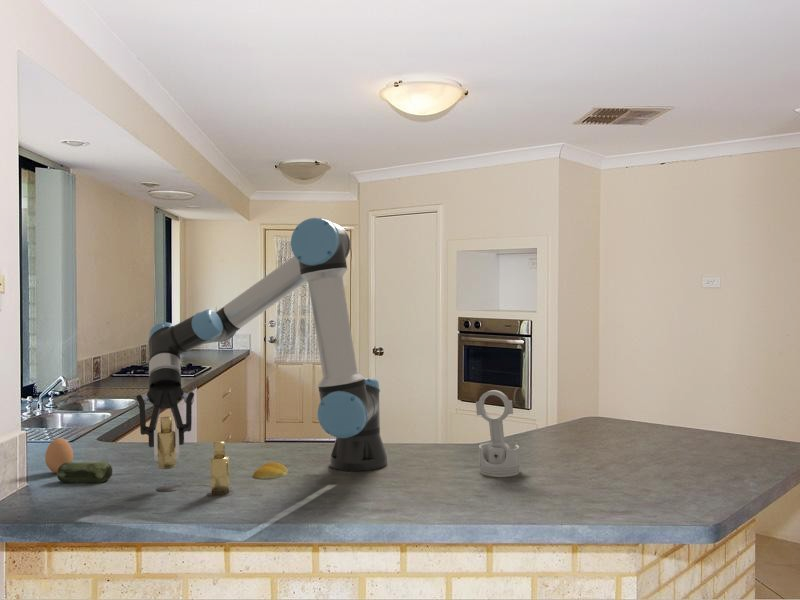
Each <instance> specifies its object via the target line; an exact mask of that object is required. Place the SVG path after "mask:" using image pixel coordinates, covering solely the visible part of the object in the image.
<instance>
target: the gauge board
mask: <svg viewBox="0 0 800 600" xmlns="http://www.w3.org/2000/svg"><path fill="white" fill-rule="evenodd" d="M181 484H182V485H181ZM181 484H167V485H162V486H159V487H157V488H155V491H156V492H158V493H172V492H177V491H180V490H182V489H184V486H183V485H193V486H199V487H200V486H203V487H210V488H211V485H206V484H194V483H185V482H182V483H181ZM229 488H230V493H229V494H227V495H223V496H213V495H211V491H209V492H207V493H206V496H207V497H208V498H225V497H230V496H232V495H234V494H235V491H234V490H231V487H230V486H229Z"/></svg>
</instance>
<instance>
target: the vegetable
mask: <svg viewBox="0 0 800 600" xmlns="http://www.w3.org/2000/svg"><path fill="white" fill-rule="evenodd" d="M56 476H57V480H58V481H59V482H60V483H64V484H70V483H71V484H72V483H77V482H78V483H99V482H101V483H104V482H106V481H108V480H109V479H110V478H111V477H112V476H113V467H112V465H111V464H110V463H109V462H108V461H106V460H105V461H97V462H86V461H85V462H73V461H72V462H66V463H64V464H62V465H61V466H60V467H59V468H58V471H57V473H56Z"/></svg>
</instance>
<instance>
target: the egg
mask: <svg viewBox="0 0 800 600" xmlns="http://www.w3.org/2000/svg"><path fill="white" fill-rule="evenodd" d="M44 457H45V458H44V459H45V464H46V466H47V469H49V470H50V472H53V473H55V474H57V471H58V468H59V467H60V466H61V465H62V464H64V463H66V462H73V460H74V451H73V448H72V446H71V444H70V443H69V441H68V440H67V439H65V438H62V437H59V438H58V437H57V438H55V439H53V440H52V441H50V443H49V444H48V446H47V449H46V451H45V456H44Z"/></svg>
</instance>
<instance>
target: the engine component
mask: <svg viewBox="0 0 800 600" xmlns="http://www.w3.org/2000/svg"><path fill="white" fill-rule="evenodd" d="M490 396H495V397H498V398H500V399H501V401H502V402H503V404H504V405H503V407H504V408H503V409H504V410H503V413H502V415H500V416H497V417H494V416H491V415H490V414H489V413H487V411H486V409H485V402H486V399H487V398H488V397H490ZM475 408H476V409H475V410H476V415H477V416H481V418H483V419H484V420H485V421H487V422H488V423H489V424H488V425H489V433H490V434H489V435H490V442H485V443H484V442H483V443H481V444H479V445H478V459H479V461H478V462H479V463H478V464H479V466H478V467H479V468H478V469H479V473H480V474H481V475H484V476H488V477H493V478H503V477H504V478H508V477H514V476H517V475H518V474H520V446H519V445H518V444H515V445H514V448H513V449H512V448H511V447H510V446H509V443H506V441H505V433H504V424H503V423H504V422H503V421H504V420H505V419H507V417H508V416H509V415H513V414H514V407H513V400H511V399H509V397H508V395H506V394H505V393H504V392H502V391H501V390H497V389H494V390H493V389H492V390H488V391H486V392H484V393H483V394H482V395H480V396H479V400H478V401H476V402H475Z"/></svg>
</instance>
